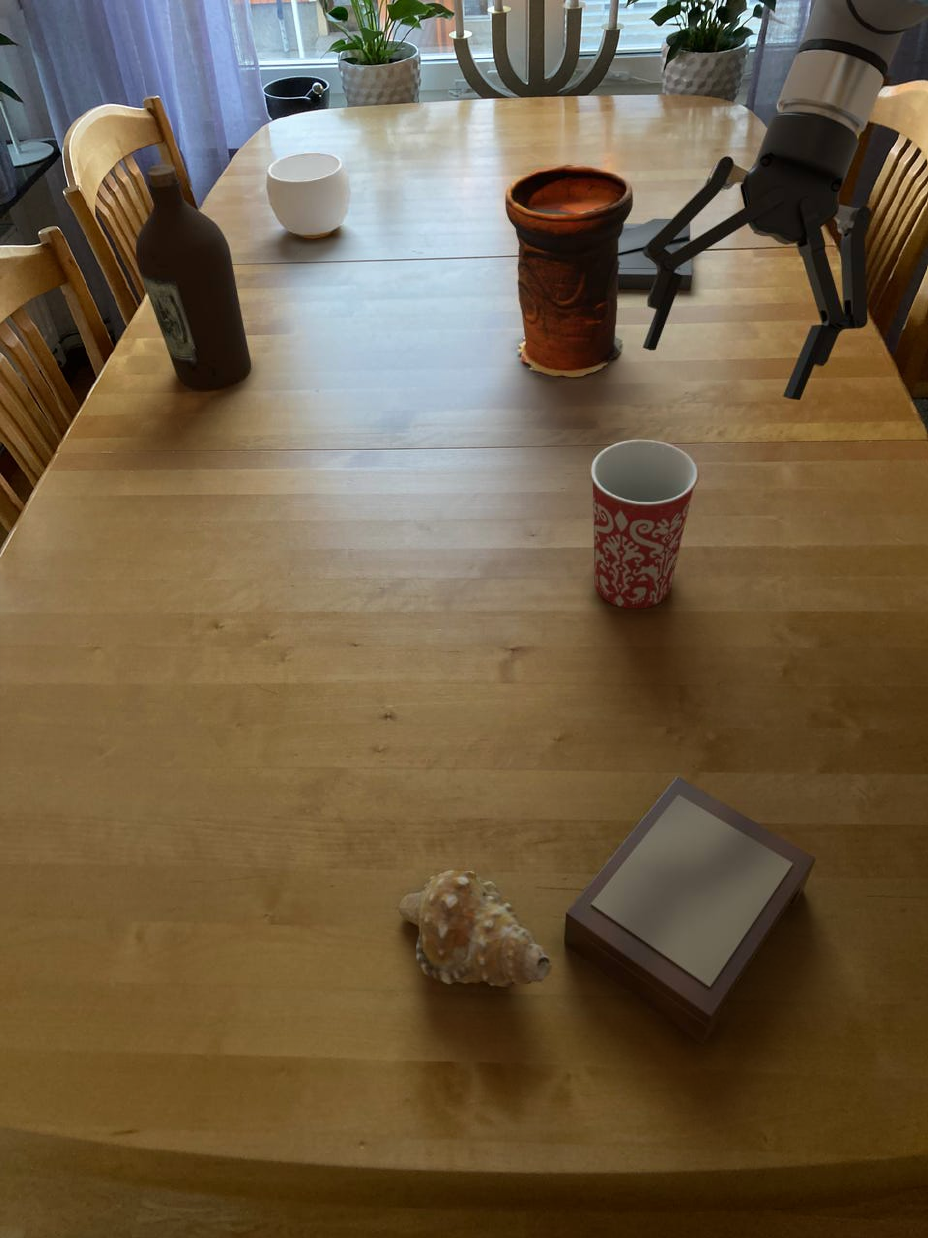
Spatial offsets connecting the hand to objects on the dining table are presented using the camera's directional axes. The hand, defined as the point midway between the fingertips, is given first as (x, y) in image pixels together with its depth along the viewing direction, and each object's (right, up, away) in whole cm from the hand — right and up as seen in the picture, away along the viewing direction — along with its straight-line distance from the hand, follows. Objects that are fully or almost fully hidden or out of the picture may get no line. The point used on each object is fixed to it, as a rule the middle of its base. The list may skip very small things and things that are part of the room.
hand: (720, 374), depth 86 cm
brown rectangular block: (-7, -43, -18) cm, 47 cm away
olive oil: (-55, +9, +37) cm, 66 cm away
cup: (-46, +38, +64) cm, 88 cm away
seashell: (-22, -45, -18) cm, 53 cm away
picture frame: (-1, +29, +52) cm, 59 cm away
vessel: (-10, +12, +36) cm, 40 cm away
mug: (-6, -17, +7) cm, 20 cm away
